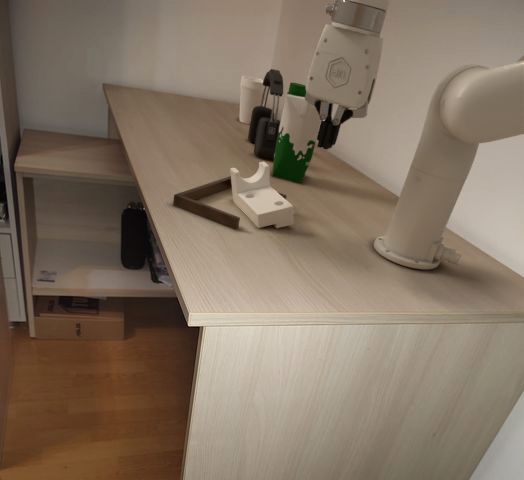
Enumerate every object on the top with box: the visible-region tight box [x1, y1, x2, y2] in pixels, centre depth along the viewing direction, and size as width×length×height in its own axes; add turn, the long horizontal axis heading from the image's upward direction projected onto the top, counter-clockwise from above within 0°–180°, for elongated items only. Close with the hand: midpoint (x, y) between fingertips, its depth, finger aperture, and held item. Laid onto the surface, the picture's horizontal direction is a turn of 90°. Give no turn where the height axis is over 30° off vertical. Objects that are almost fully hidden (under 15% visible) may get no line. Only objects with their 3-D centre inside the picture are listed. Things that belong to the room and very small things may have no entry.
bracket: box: [229, 161, 294, 229], centre depth 93 cm, size 13×7×8 cm, turn 24°
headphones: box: [247, 68, 284, 160], centre depth 132 cm, size 22×6×20 cm, turn 8°
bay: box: [172, 175, 287, 230], centre depth 96 cm, size 14×21×2 cm, turn 153°
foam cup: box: [238, 75, 268, 125], centre depth 162 cm, size 10×9×13 cm
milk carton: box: [271, 82, 321, 184], centre depth 115 cm, size 9×9×20 cm
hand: (324, 147), depth 83 cm, fingers closed
